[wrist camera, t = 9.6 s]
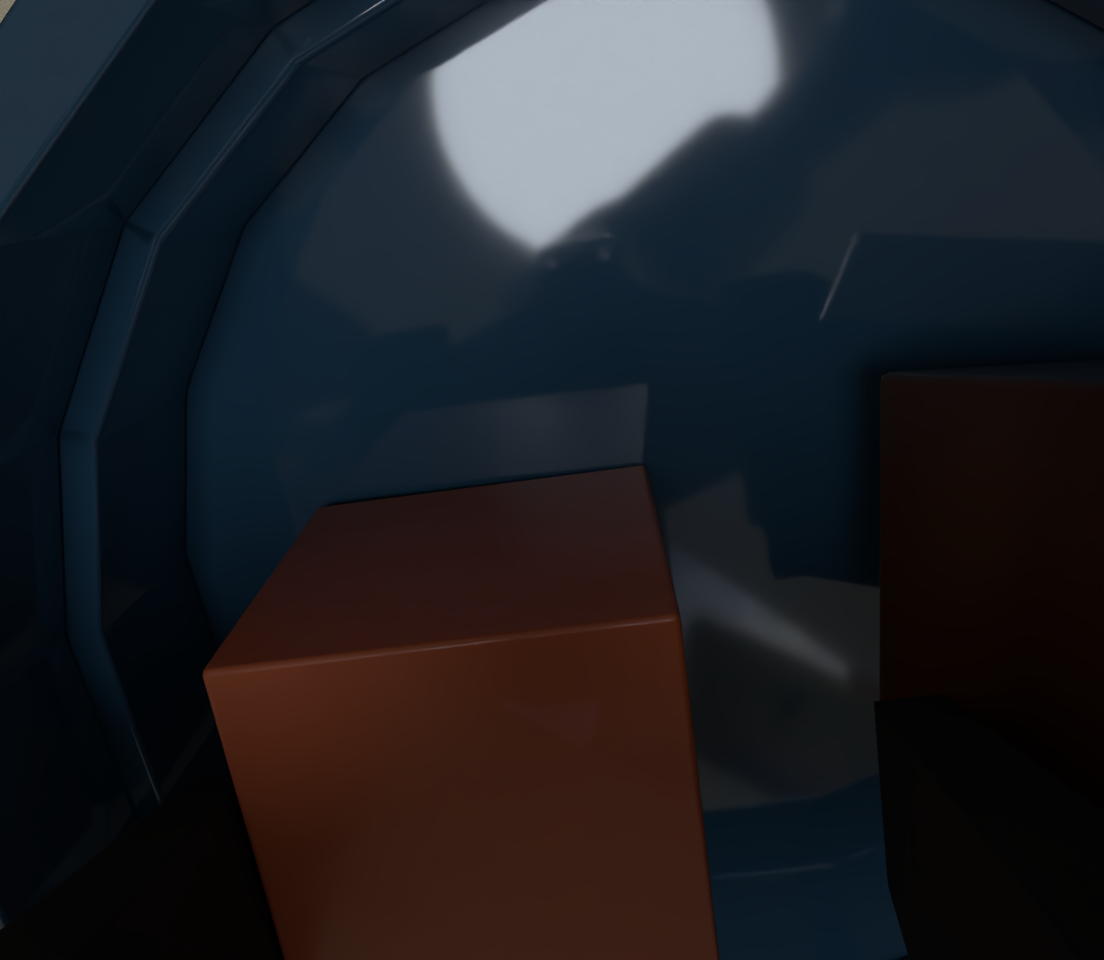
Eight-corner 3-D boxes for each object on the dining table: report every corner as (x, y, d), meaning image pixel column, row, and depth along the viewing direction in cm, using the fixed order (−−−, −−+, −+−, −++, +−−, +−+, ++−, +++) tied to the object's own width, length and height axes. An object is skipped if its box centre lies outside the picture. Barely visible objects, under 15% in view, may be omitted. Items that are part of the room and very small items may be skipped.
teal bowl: (1626, -67, 10) (2541, -254, 5) (1134, 1071, 15) (1371, 1499, 10) (114, -262, 10) (-320, -608, 5) (133, 921, 15) (-83, 1270, 11)
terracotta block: (646, 463, 12) (680, 613, 8) (680, 752, 13) (724, 1002, 9) (316, 506, 12) (197, 671, 8) (381, 785, 13) (304, 1041, 9)
